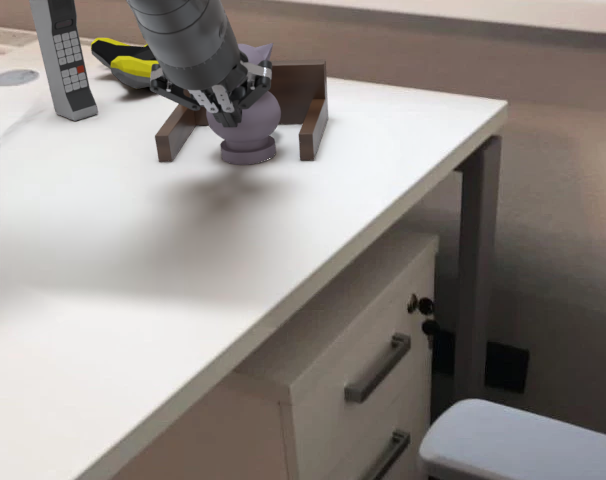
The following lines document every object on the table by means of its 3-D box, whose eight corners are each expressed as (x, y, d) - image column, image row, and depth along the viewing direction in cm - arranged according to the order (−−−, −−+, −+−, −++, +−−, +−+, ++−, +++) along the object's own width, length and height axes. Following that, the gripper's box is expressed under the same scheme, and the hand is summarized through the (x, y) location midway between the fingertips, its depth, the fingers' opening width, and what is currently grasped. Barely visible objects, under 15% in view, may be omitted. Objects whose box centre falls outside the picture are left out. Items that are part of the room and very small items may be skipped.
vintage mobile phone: (74, 122, 115) (24, -103, 99) (55, 114, 118) (3, -105, 102) (99, 114, 117) (53, -108, 101) (79, 106, 120) (32, -110, 104)
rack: (314, 160, 100) (310, 96, 95) (158, 161, 102) (148, 99, 98) (328, 118, 110) (325, 59, 106) (187, 120, 113) (179, 62, 109)
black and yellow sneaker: (120, 103, 120) (189, 90, 123) (112, 61, 117) (184, 48, 119) (93, 76, 131) (158, 64, 134) (85, 36, 127) (152, 25, 130)
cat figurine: (200, 164, 101) (184, 53, 93) (227, 140, 107) (215, 33, 99) (269, 170, 98) (259, 56, 91) (293, 144, 104) (286, 35, 96)
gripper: (260, -17, 78) (293, 85, 95) (118, -11, 80) (175, 88, 97) (255, 63, 78) (289, 151, 95) (112, 68, 80) (170, 153, 97)
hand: (231, 119), depth 96 cm, fingers closed
